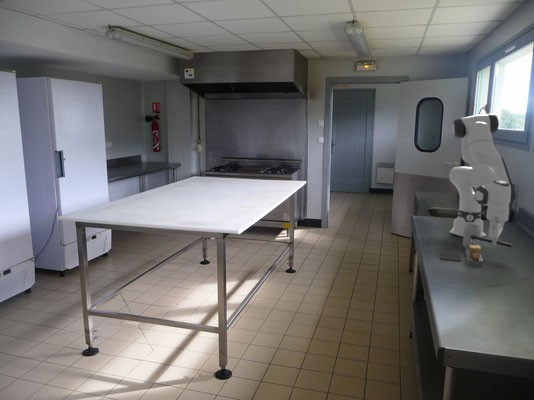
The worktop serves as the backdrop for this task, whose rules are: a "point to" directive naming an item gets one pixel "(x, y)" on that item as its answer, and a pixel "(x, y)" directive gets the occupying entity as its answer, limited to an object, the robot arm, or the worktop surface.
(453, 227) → the robot arm
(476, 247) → the brown wooden block
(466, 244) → the can
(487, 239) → the lever
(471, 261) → the body
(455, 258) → the mat
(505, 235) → the worktop surface
